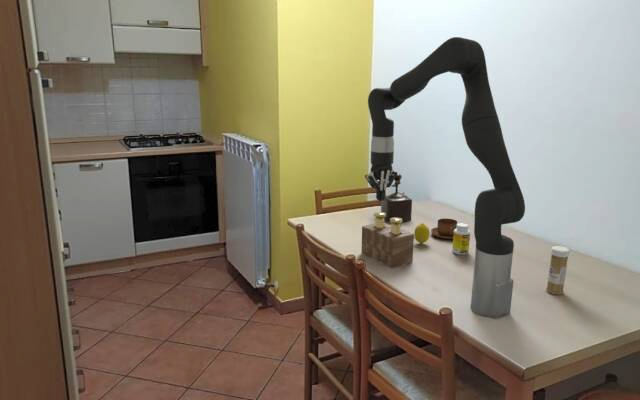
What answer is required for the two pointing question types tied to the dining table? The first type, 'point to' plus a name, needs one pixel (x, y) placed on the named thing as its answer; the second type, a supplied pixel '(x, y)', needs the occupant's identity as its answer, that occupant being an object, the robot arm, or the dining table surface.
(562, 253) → the sprinkles bottle
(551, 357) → the dining table surface
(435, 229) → the cup and saucer
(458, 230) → the supplement bottle
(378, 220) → the far peg
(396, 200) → the manual coffee grinder
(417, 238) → the lemon
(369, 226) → the brown wooden block
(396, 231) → the near peg
